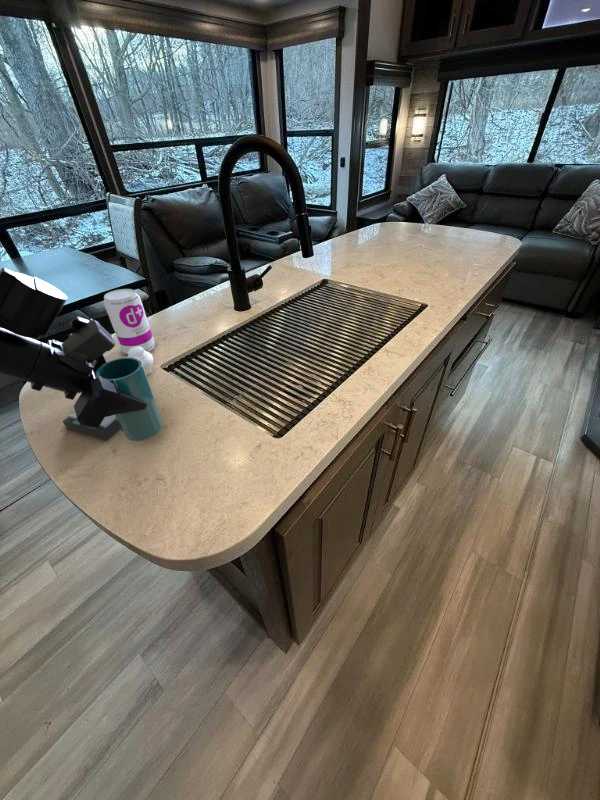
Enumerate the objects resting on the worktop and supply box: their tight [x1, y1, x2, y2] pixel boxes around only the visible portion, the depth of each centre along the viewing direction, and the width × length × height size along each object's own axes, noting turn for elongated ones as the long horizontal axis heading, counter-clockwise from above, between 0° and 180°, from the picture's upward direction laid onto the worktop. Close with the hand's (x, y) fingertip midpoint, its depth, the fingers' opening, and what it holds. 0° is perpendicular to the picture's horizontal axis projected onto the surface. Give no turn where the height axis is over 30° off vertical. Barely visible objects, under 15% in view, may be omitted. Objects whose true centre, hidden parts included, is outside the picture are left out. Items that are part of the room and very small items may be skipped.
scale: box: [62, 411, 121, 441], centre depth 67 cm, size 12×10×3 cm
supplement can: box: [103, 288, 156, 355], centre depth 84 cm, size 8×8×15 cm
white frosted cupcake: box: [127, 346, 154, 376], centre depth 78 cm, size 6×6×7 cm
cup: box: [96, 356, 164, 442], centre depth 56 cm, size 7×7×13 cm
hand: (140, 396), depth 57 cm, fingers closed on cup, 7 cm apart
